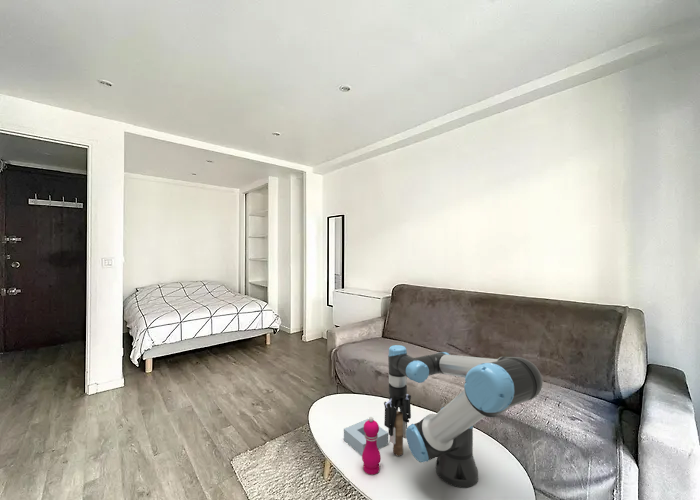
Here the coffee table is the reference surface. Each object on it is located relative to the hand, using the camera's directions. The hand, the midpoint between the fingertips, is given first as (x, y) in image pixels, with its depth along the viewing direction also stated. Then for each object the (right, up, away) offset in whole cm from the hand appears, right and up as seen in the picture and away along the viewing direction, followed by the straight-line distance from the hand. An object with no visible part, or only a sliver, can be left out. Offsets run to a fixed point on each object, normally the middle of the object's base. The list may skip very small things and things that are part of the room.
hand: (398, 439), depth 127 cm
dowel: (0, -6, 0) cm, 6 cm away
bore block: (-13, -6, +8) cm, 16 cm away
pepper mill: (-12, -6, -9) cm, 16 cm away
